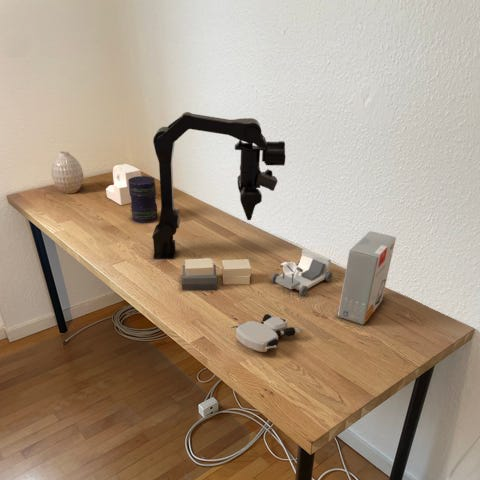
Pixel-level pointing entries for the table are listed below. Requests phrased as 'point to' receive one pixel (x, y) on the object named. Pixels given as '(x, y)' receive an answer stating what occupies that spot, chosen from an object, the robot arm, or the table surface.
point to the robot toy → (263, 333)
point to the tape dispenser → (122, 183)
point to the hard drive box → (366, 276)
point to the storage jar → (143, 199)
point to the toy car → (304, 272)
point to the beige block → (236, 271)
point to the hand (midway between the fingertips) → (248, 214)
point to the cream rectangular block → (199, 267)
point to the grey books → (199, 281)
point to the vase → (67, 172)
